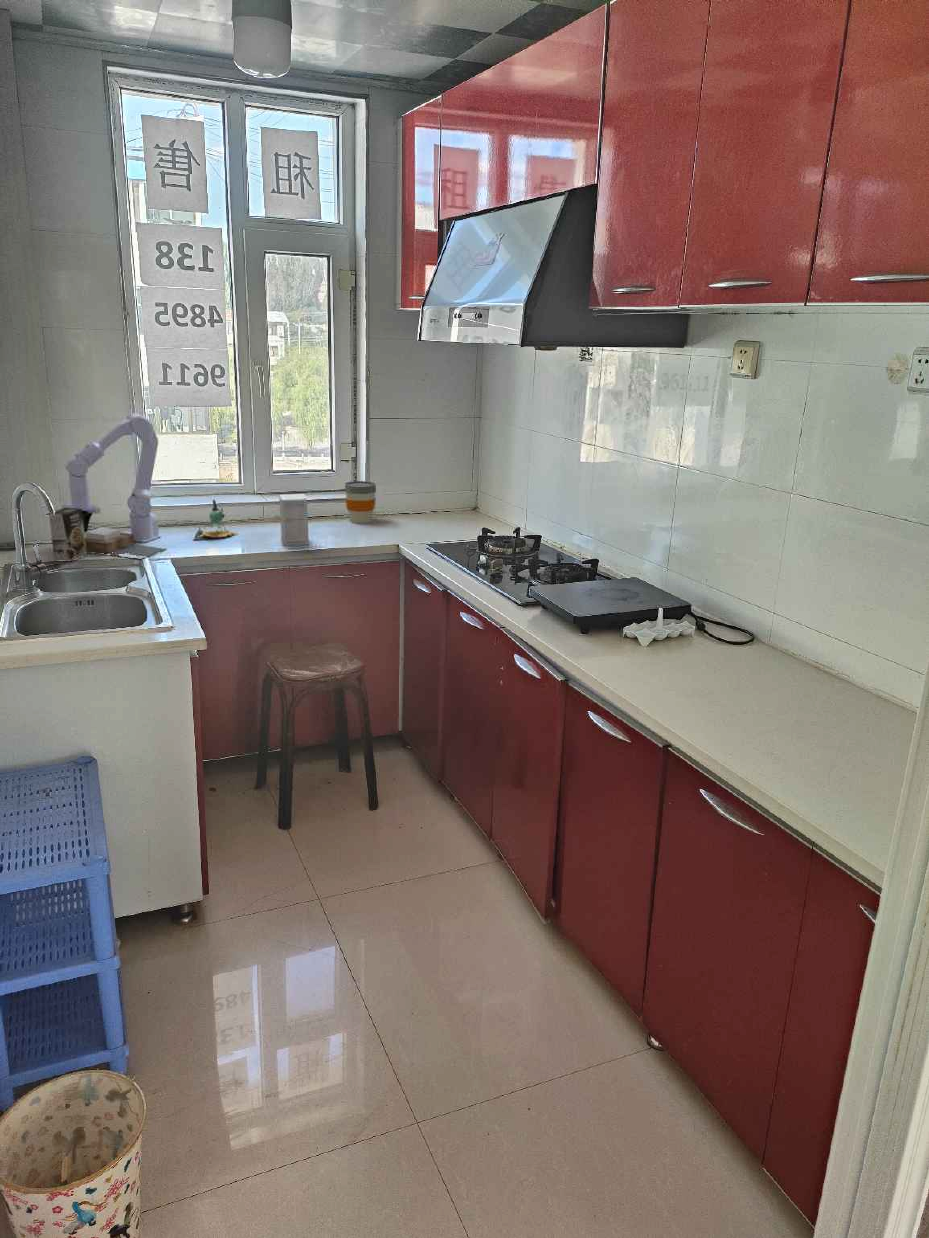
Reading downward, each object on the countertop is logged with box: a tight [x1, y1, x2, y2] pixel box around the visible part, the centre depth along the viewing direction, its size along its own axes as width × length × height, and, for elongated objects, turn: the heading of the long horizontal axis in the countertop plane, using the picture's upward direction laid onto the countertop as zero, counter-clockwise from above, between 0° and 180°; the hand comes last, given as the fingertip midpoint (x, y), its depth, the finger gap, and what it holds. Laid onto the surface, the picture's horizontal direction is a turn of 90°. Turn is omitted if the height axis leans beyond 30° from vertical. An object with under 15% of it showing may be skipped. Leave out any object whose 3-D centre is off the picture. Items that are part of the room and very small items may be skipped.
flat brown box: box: [85, 532, 136, 554], centre depth 306 cm, size 14×12×4 cm
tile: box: [84, 527, 122, 541], centre depth 305 cm, size 8×8×2 cm
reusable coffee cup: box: [344, 480, 377, 524], centre depth 355 cm, size 13×13×15 cm
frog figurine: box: [192, 499, 239, 542], centre depth 325 cm, size 10×18×15 cm, turn 123°
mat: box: [109, 544, 168, 557], centre depth 303 cm, size 14×13×1 cm
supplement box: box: [278, 493, 310, 547], centre depth 320 cm, size 10×9×17 cm
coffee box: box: [48, 508, 88, 561], centre depth 291 cm, size 9×6×16 cm
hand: (83, 532), depth 308 cm, fingers closed
